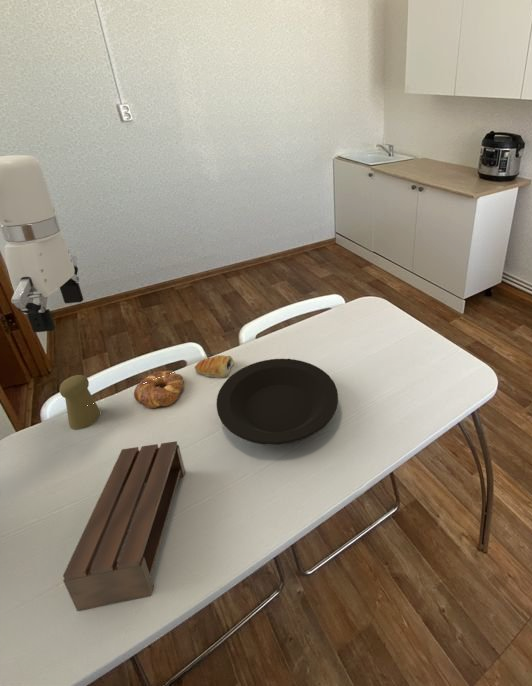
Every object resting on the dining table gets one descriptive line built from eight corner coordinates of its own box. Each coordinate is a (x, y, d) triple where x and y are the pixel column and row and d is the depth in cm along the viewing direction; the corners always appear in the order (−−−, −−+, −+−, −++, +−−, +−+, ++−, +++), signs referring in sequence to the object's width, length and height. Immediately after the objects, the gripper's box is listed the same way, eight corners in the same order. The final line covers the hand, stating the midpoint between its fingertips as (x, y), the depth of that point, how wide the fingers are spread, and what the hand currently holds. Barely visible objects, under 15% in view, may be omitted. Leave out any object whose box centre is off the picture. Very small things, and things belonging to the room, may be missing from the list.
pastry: (191, 379, 99) (189, 367, 98) (201, 362, 105) (199, 350, 104) (227, 378, 99) (225, 366, 98) (235, 361, 105) (233, 350, 104)
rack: (76, 611, 55) (60, 576, 52) (130, 480, 73) (120, 449, 71) (151, 595, 56) (139, 561, 54) (185, 471, 75) (178, 440, 72)
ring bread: (193, 394, 94) (190, 382, 93) (145, 419, 87) (141, 407, 86) (175, 370, 102) (173, 359, 101) (130, 392, 95) (127, 380, 94)
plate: (194, 432, 83) (190, 412, 81) (263, 365, 104) (261, 348, 102) (302, 483, 72) (300, 462, 70) (356, 396, 92) (356, 378, 90)
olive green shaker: (73, 412, 89) (60, 374, 85) (103, 405, 91) (91, 367, 87) (65, 432, 84) (50, 393, 80) (97, 424, 86) (84, 385, 82)
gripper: (38, 215, 73) (63, 294, 79) (-33, 250, 57) (5, 346, 63) (81, 212, 74) (103, 291, 80) (23, 246, 58) (56, 341, 64)
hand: (60, 315), depth 71 cm, fingers open, 9 cm apart
